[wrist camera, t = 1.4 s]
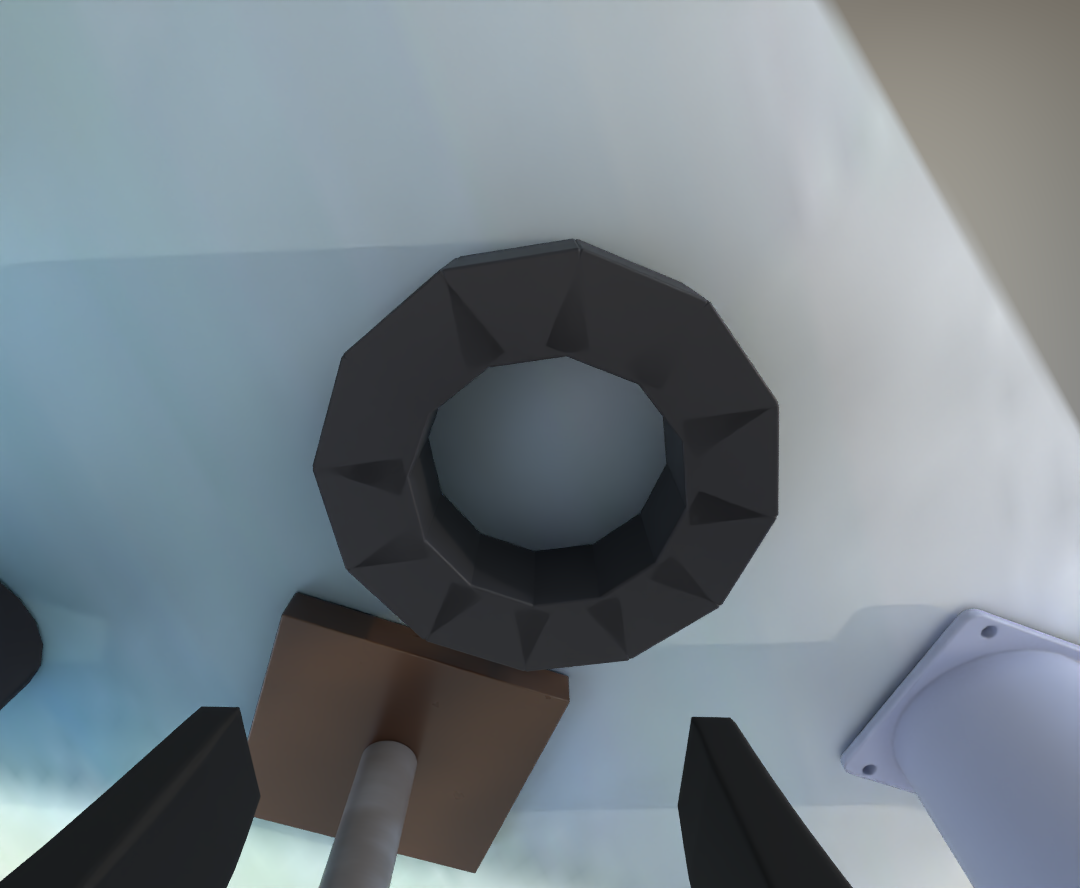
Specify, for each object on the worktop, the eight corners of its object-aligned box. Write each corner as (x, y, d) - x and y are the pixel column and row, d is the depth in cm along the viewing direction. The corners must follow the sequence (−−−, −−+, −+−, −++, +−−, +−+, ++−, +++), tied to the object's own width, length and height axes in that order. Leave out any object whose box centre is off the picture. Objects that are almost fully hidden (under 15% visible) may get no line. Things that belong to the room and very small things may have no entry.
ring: (822, 341, 17) (872, 368, 14) (641, 648, 21) (655, 713, 18) (417, 172, 15) (391, 167, 12) (312, 542, 19) (276, 596, 17)
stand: (569, 675, 21) (577, 851, 16) (478, 844, 25) (458, 1035, 19) (296, 591, 20) (197, 749, 14) (242, 782, 24) (146, 968, 18)
